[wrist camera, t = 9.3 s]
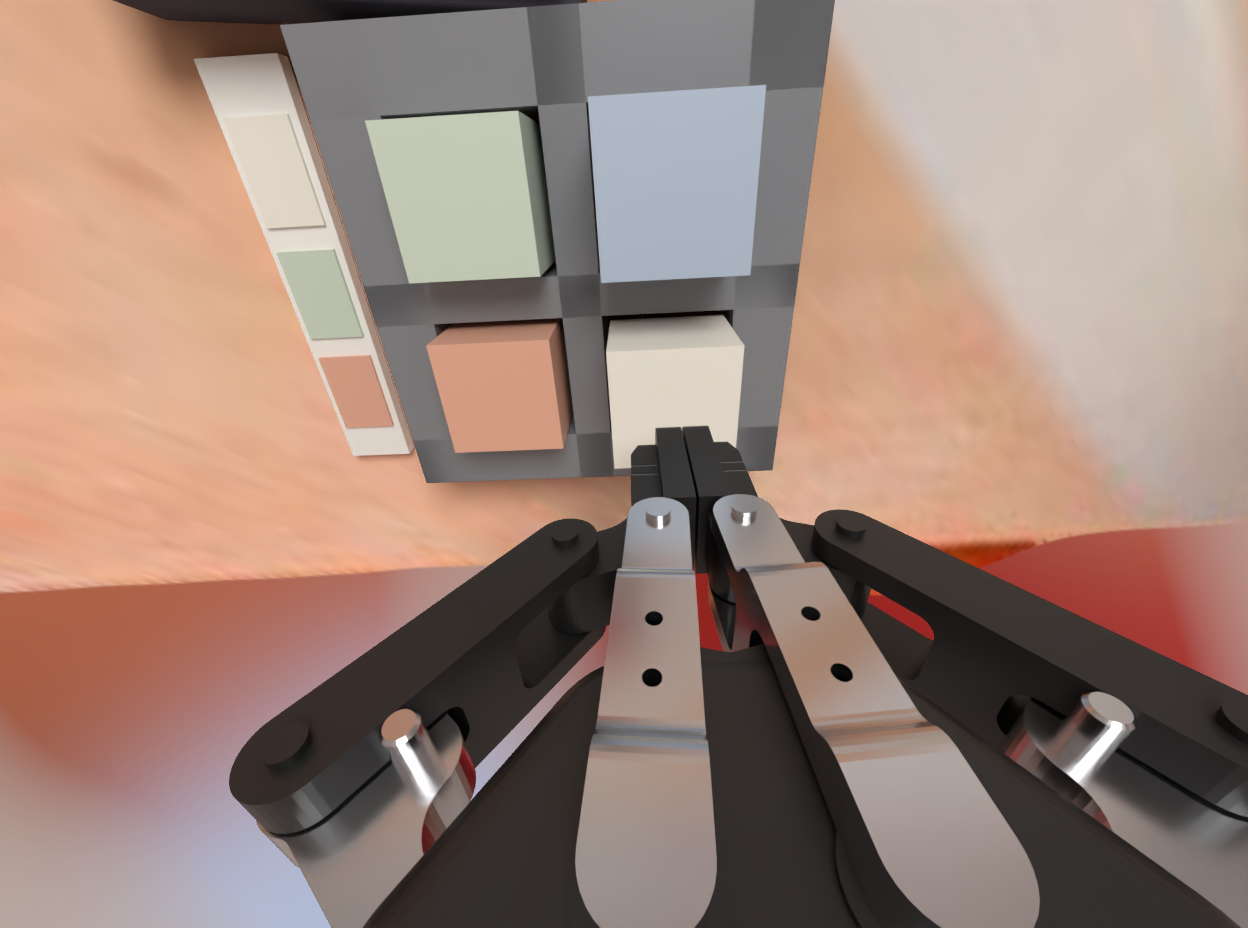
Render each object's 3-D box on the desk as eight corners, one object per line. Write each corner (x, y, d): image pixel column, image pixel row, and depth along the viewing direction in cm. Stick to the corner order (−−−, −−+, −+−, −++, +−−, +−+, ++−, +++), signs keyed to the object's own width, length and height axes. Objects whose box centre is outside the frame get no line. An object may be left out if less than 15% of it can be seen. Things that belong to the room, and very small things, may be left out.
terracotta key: (562, 312, 20) (548, 339, 17) (573, 407, 22) (563, 448, 19) (460, 317, 20) (425, 345, 17) (482, 411, 22) (455, 452, 19)
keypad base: (798, 20, 16) (836, -16, 13) (754, 434, 24) (772, 470, 21) (342, 53, 17) (279, 25, 14) (451, 446, 25) (426, 482, 22)
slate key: (735, 106, 15) (766, 84, 12) (726, 256, 17) (750, 275, 14) (597, 115, 15) (587, 96, 12) (606, 262, 17) (601, 283, 14)
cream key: (723, 314, 18) (744, 345, 15) (717, 417, 21) (734, 464, 17) (610, 320, 18) (605, 352, 15) (616, 421, 21) (614, 468, 17)
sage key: (541, 124, 17) (517, 111, 13) (556, 259, 19) (540, 276, 15) (419, 132, 17) (364, 120, 13) (448, 265, 19) (409, 283, 16)
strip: (287, 56, 17) (274, 51, 16) (414, 448, 25) (408, 455, 24) (206, 62, 17) (190, 57, 16) (359, 450, 25) (351, 457, 24)
